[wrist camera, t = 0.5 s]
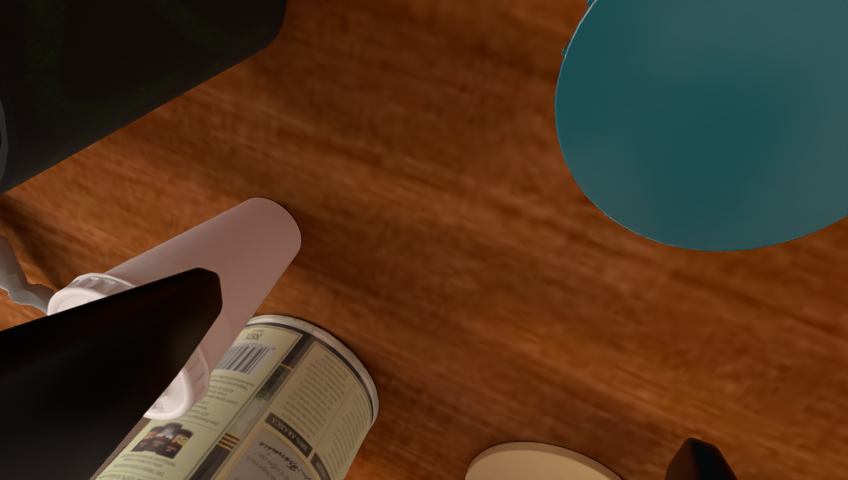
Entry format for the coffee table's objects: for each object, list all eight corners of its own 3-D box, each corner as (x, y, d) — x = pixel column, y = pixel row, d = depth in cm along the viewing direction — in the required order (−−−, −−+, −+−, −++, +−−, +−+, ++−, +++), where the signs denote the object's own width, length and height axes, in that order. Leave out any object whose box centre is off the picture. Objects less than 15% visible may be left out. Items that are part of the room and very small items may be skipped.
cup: (275, -164, 17) (-180, -261, 8) (333, 71, 21) (72, 204, 11) (111, -110, 20) (-369, -132, 11) (187, 88, 24) (-120, 206, 14)
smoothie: (231, 146, 25) (-108, 342, 13) (343, 222, 25) (100, 480, 14) (204, 236, 28) (-77, 446, 17) (302, 302, 29) (85, 553, 17)
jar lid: (1005, 74, 10) (1065, 100, 8) (689, 264, 13) (694, 303, 12) (763, -194, 9) (786, -213, 8) (504, 88, 13) (488, 108, 11)
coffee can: (310, 451, 36) (160, 696, 25) (205, 345, 34) (-13, 561, 23) (415, 417, 30) (282, 716, 19) (297, 287, 28) (67, 538, 17)
